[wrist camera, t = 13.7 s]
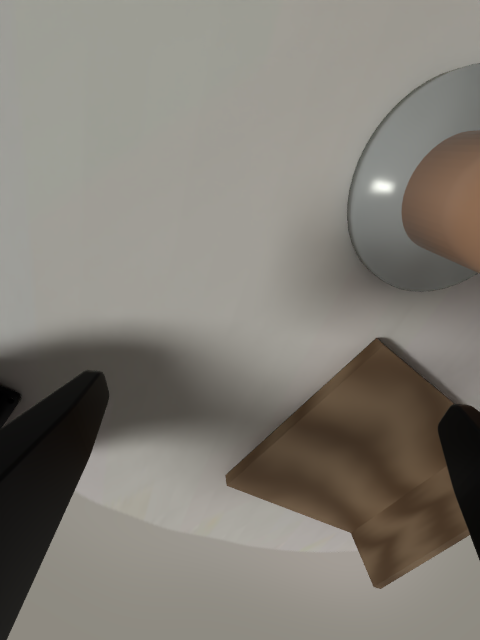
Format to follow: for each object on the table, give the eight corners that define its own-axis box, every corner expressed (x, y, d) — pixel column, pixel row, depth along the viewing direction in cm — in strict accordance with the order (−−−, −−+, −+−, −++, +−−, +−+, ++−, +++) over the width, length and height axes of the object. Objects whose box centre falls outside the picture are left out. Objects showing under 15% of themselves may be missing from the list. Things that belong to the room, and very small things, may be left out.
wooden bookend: (353, 526, 37) (380, 588, 32) (225, 475, 29) (234, 548, 24) (487, 431, 32) (546, 488, 26) (376, 337, 24) (429, 392, 18)
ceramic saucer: (415, 316, 23) (424, 322, 22) (306, 208, 18) (312, 212, 17) (570, 178, 20) (587, 179, 19) (486, -2, 15) (505, -10, 14)
